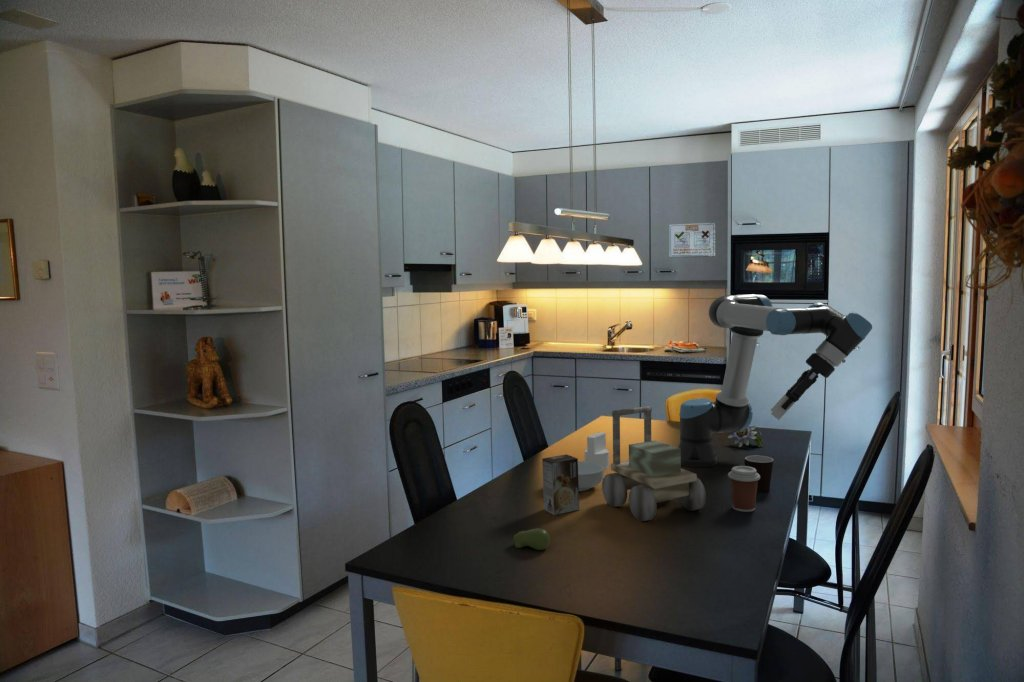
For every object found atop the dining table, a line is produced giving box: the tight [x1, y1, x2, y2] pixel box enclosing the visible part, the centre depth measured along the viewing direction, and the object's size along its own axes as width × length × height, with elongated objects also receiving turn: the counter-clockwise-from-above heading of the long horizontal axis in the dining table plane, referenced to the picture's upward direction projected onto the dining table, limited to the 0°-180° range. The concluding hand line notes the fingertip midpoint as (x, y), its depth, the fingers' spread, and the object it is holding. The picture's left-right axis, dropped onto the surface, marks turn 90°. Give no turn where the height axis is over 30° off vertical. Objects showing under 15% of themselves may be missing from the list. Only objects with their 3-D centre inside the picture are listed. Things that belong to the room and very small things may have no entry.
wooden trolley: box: [601, 405, 707, 522], centre depth 202 cm, size 24×21×29 cm
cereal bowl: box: [578, 460, 605, 492], centre depth 224 cm, size 17×17×7 cm
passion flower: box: [726, 425, 764, 448], centre depth 274 cm, size 11×11×12 cm
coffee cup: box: [727, 465, 760, 513], centre depth 200 cm, size 9×9×12 cm
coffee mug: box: [743, 454, 774, 493], centre depth 219 cm, size 12×9×10 cm
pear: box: [512, 528, 551, 551], centre depth 175 cm, size 6×5×10 cm
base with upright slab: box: [584, 431, 610, 470], centre depth 248 cm, size 9×9×12 cm
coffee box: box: [541, 454, 580, 516], centre depth 202 cm, size 9×6×16 cm
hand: (774, 415), depth 197 cm, fingers open, 13 cm apart
